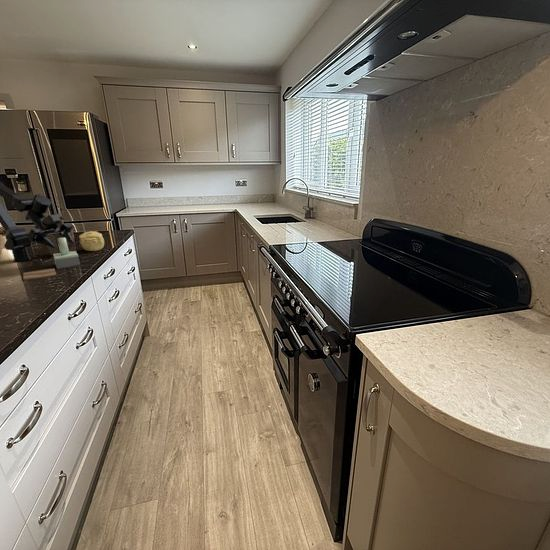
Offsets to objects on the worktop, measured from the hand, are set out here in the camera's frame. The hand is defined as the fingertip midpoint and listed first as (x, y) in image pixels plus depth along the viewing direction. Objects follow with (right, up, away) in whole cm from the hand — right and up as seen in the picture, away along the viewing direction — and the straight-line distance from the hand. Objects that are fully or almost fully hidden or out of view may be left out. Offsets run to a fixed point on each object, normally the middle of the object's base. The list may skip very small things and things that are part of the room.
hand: (64, 245), depth 139 cm
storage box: (0, -9, +3) cm, 10 cm away
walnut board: (-3, -14, -10) cm, 17 cm away
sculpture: (-5, 0, +31) cm, 32 cm away
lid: (0, -6, +2) cm, 6 cm away
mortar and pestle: (-13, -3, +23) cm, 26 cm away
